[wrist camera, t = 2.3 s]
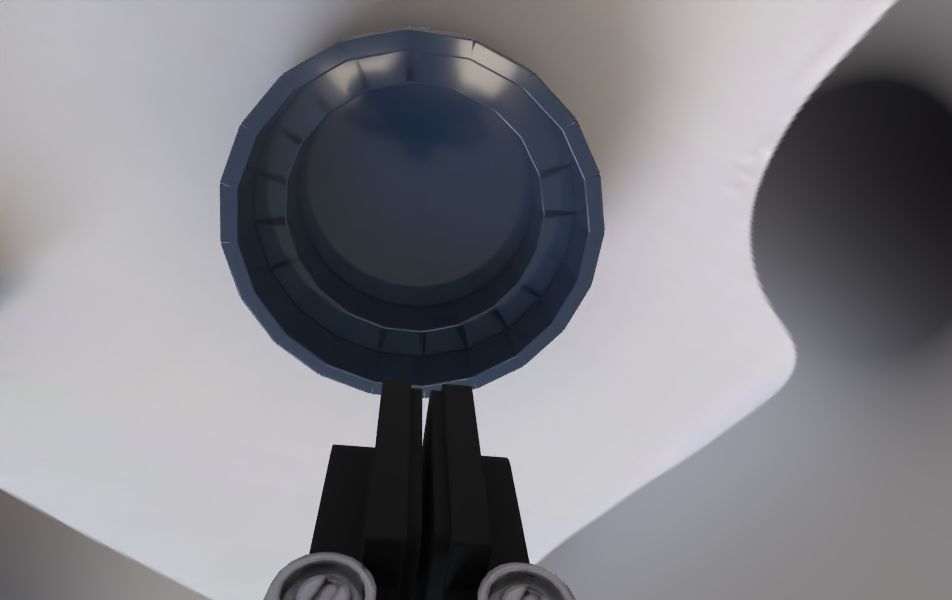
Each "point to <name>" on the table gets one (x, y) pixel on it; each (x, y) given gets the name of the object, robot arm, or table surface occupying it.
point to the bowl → (411, 211)
